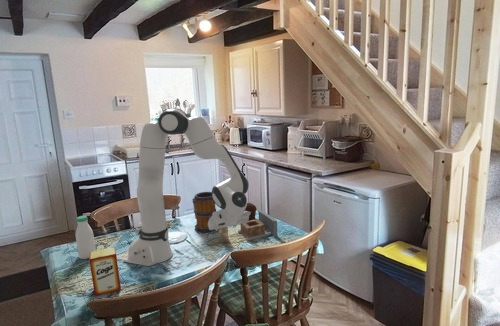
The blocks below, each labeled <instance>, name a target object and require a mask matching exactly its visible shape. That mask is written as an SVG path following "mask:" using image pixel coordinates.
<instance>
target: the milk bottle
mask: <svg viewBox="0 0 500 326" xmlns="http://www.w3.org/2000/svg"><path fill="white" fill-rule="evenodd" d="M76 222H77V227H76V230H75V241H76V242H75V243H76V247H77V249H76V250H77V254H78V258H79V259H80V260H87V259H88V260H89V254H90V252H93V251H97V250H96V243H95V237H94V236H95V235H94V232H93V229H92V228H91V226H90V224H89V223H88V216H87V215H80V216H78V217H76Z"/></svg>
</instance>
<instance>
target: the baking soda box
mask: <svg viewBox="0 0 500 326" xmlns="http://www.w3.org/2000/svg"><path fill="white" fill-rule="evenodd" d="M88 260H89V261H88V262H89V266H90V272H91V278H92V279H91V280H92V286H93V293H94V297H98V296H103V295H107V294H110V293H115V292H118V290H119V291H121V290H122V288H121V287H122V286H121V281H120V280H121V279H120V273H119V266H118V265H119V264H118V259H117V250H116V246H114V247H109V248H104V249H102V248H101V249H97V250H96V251H93V252H90V254H89V258H88ZM114 291H115V292H114ZM106 293H107V294H106Z"/></svg>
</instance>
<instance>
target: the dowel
mask: <svg viewBox="0 0 500 326" xmlns="http://www.w3.org/2000/svg"><path fill="white" fill-rule="evenodd" d="M228 227H229V226H228ZM228 227H224V228H220V229H219V233H220V236H219V237H220V242H221V243H228V242H229V228H228Z"/></svg>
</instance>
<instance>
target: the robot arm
mask: <svg viewBox="0 0 500 326" xmlns="http://www.w3.org/2000/svg"><path fill="white" fill-rule="evenodd" d="M187 115H188V114H187V113H186V112H185V111H184V110H182V109H180V108H178V107H177V108H176V107H175V108H174V107H171V108H168V109H165V110H163V111H162V112H161V113H160V115H159V117H158V121H157V120H156V121H149V122H147V123H144V125H143V127H142V131H141V133H140V135H141V136H140V142H139V155H138V156H139V157H138V180H137V181H138V182H137V188H136V197H137V206H138V209H139V214H140V223H141V228H140V229H138V232H137V233H136V235H137V236H138V235H139V236H138V237H137V238H135V240H134V241H133V242H131V243H130V245H129V246H128V251H127V252H126V254H125V255H124V257H123V262H124V263H128V264H129V263H130V264H134V265H135V264H136V265H139V266H145V267H150V266H154V265H156V264H159V263H164V262H165V261H167V260H170V259H171V258H172V256H173V255H174V254H173V250H172V247H171V245H170V240H169V230H168V228H169V227H168V225H167V218H166V210H165V209H166V207H165V198H164V190H163V189H164V187H163V186H164V185H163V183H164V171H165V161H166V160H165V159H166V148H167V146H166V145H167V138H168V136H169V135H171V136H172V135H173V136H174V135H185V136H186V139H187V140H188V143H189V144H190V147H191V149H192V152H193V153H194V154H195V156H197V157H198V158H199V159H202V160H219V161H220V162H221V163H222V164H223V165H224V167H225V169H226V170H227V173H228V174H229V175H230V176H229V178H227V179H225V180H222V181H221V182H219V183H218V184H216V185H214V186H212V189H211V192H212V199H213V201H214V203H215V206H217V207H219V208H220V209H218V210H216V212H213V214H212V215H213V216H212V217H211V218H210V219H209V221H208V227H209V230H214V229H215V230H216V232H217V231H220V229H219V228H224V227H233V228H236V227H237V226H239V225H241V224H242V223H246V222H248V220H249V215H250V214H251V212H249V211H245V209H246V206H247V203H248V198H247V196H246V193H247V192H248V190H249V186H250V185H249V181H248V179H247V178H246V176H245V175H244V173H243V172H242V171H241V170H240V167H239V165H238V164H237V163H236V161H235V159H234V158H233V156H232V154H231V152H229V150H228V149H227V147H226V146H225V145H224V144H220V143H219V142H218V141H217V140H216V138H215V137H214V134H213V132H212V129H211V127H210V126H209V124H208V123H207V121H206V119H205V118H204V117H203V116H201V115H195V116H191V117H188V116H187Z"/></svg>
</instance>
